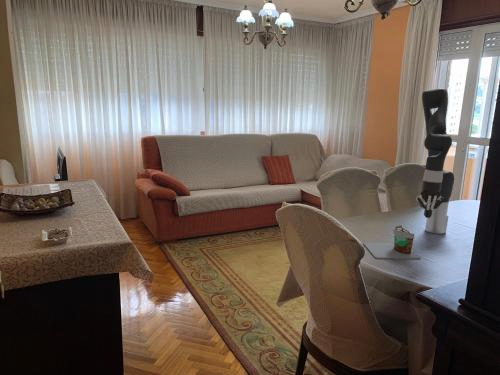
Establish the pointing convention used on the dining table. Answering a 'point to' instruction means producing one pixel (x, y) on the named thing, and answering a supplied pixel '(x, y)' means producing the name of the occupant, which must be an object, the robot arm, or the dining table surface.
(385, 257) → the felt mat
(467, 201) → the dining table surface
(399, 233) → the food container
